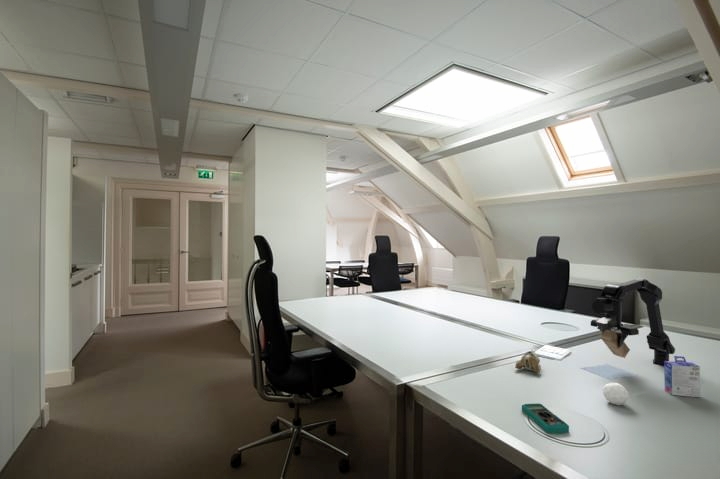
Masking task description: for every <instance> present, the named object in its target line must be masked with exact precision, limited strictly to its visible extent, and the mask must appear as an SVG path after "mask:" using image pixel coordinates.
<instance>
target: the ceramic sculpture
mask: <svg viewBox="0 0 720 479" xmlns="http://www.w3.org/2000/svg"><path fill="white" fill-rule="evenodd" d="M540 363H541V360H540V358H539V356H537V355H536V353H535V351H534V350H533V349H532V350H530V351H527V352H525V354H524V355H522V356H521V359H520V360H517V361H516V363H515V366H514V367H515V368H516V369H517V370H522V369H524V370H527V371H529V372H530V371H533V372H535V373H540V372H541V369H542V368H541V367H542V366H541V364H540Z"/></svg>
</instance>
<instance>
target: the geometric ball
mask: <svg viewBox="0 0 720 479" xmlns="http://www.w3.org/2000/svg"><path fill="white" fill-rule="evenodd" d="M602 394H603V396H604V398H605V400H606V401H607V402H609V403H611V404H612V405H615V406H621V405H622V406H623V405H625V404H626V403H627V402H628V401H629V398H630V397H629V392H628V391H627V389H626V388H625V386H623V385H622V384H620V383H618V382H609V383H607V384H605V385H604V386H603V388H602Z"/></svg>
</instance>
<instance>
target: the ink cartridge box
mask: <svg viewBox="0 0 720 479" xmlns="http://www.w3.org/2000/svg"><path fill="white" fill-rule="evenodd" d="M673 356H674V361H672V360H669V361H664V365H663V367H664V370H663V373H664V391H666V392H667V393H668V394H670V395H671V396H681V397H682V396H683V397H693V398H701V366H700V365H697V364H696V363H693V362H688V361H687V360H686V358H685V356H681V355H680V356H679V355H678V356H677V355H673Z"/></svg>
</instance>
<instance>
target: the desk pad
mask: <svg viewBox="0 0 720 479" xmlns="http://www.w3.org/2000/svg"><path fill="white" fill-rule="evenodd" d="M581 369H582V370H583V371H586V372H589V373H592V374H593V375H597V376H599V377H602V378H604V379H606V380H610V381H611V380H616V379H621V378H627V377H633V376H638V374H637V373H634V372H631V371H628V370H625V369H622V368H619V367H617V366H614V365H611V364H608V363H606V364H600V365H593V366H586V367H580V370H581Z"/></svg>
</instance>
